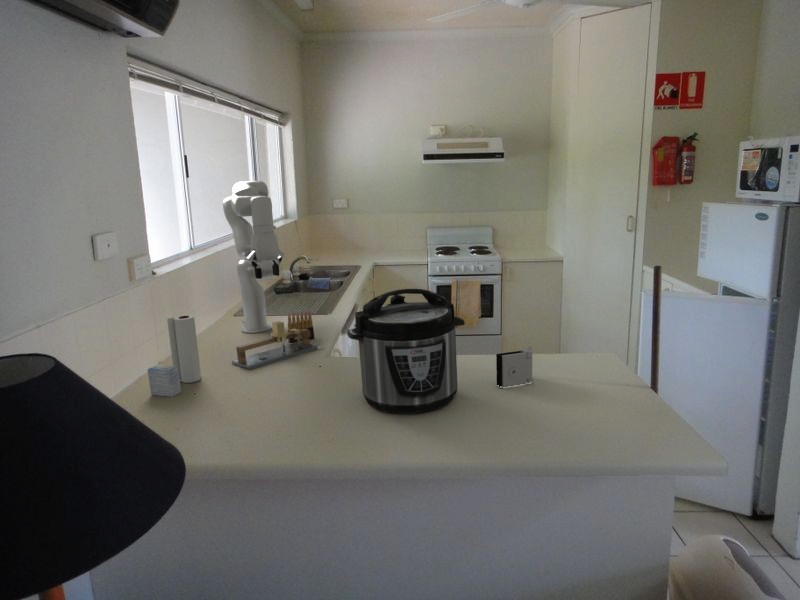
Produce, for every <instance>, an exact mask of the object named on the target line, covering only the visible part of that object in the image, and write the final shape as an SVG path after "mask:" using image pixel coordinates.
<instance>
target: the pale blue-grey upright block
mask: <svg viewBox="0 0 800 600" xmlns="http://www.w3.org/2000/svg"><path fill="white" fill-rule="evenodd" d="M147 374H148V381H149V389H150V395H151V396H159V397H167V398H168V397H170V398H171V397H175V396H176V395H179V394H180V393H181V392H182V388H181V380H179V373H178V366H173V364H171V365H169V364H155V365H153V366H151V367H149V368H147Z"/></svg>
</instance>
